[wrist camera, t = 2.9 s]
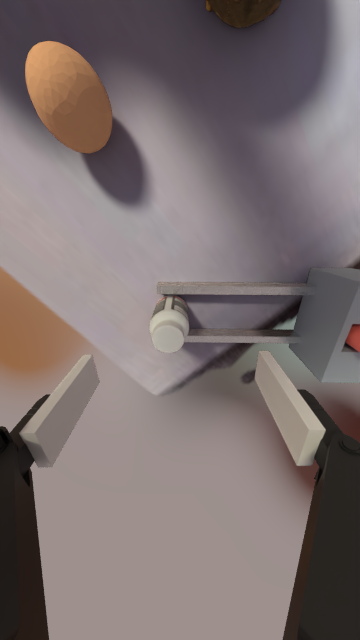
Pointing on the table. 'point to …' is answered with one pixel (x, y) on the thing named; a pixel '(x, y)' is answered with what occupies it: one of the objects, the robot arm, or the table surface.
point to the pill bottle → (169, 324)
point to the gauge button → (354, 337)
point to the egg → (68, 96)
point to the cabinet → (329, 325)
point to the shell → (242, 10)
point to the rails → (238, 289)
